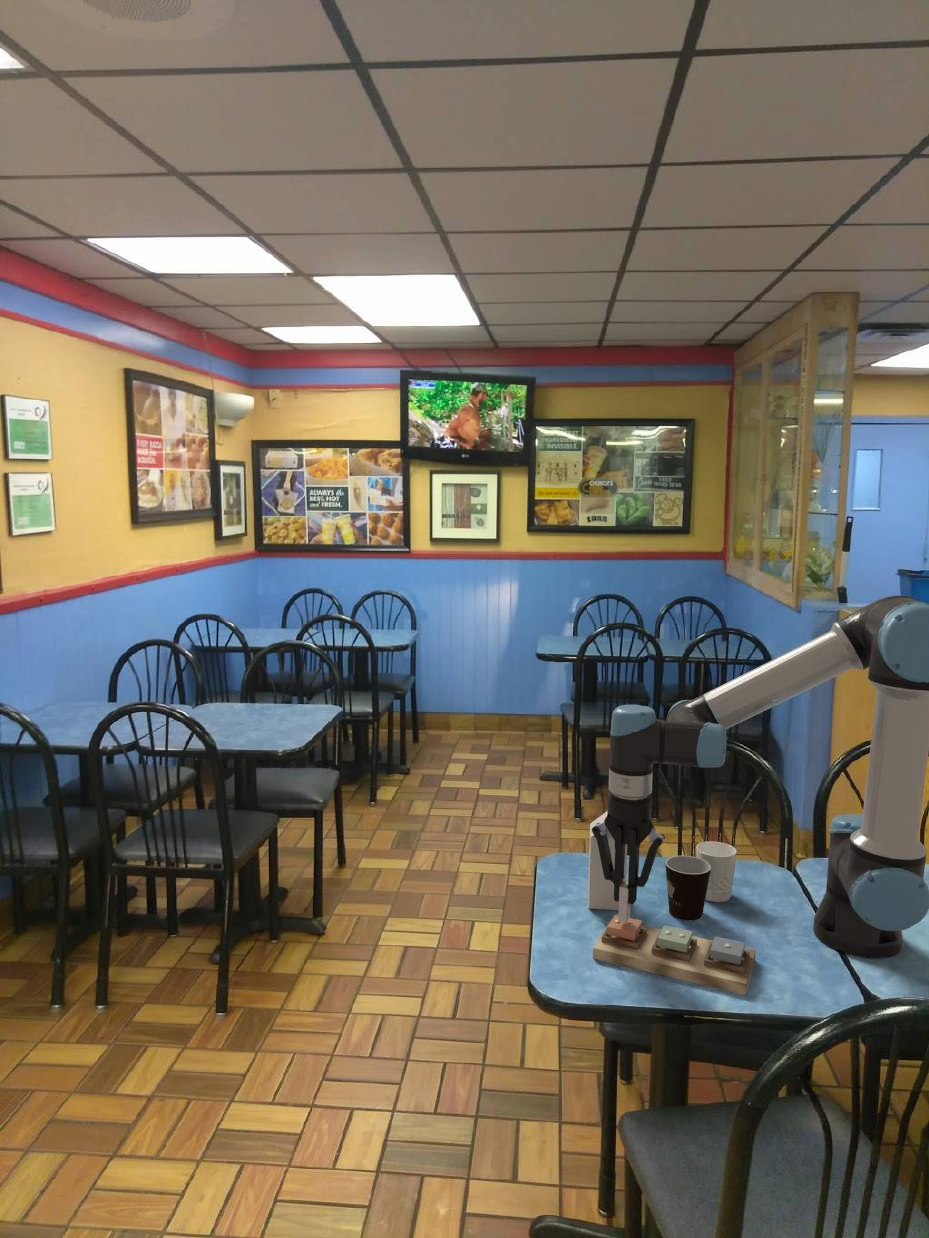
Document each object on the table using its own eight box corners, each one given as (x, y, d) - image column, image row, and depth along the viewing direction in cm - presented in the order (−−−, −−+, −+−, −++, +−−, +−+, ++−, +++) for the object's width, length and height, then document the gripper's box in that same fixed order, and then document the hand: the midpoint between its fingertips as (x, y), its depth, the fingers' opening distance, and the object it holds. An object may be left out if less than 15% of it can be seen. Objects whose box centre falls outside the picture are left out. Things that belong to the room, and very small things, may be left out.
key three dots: (641, 928, 160) (642, 919, 160) (634, 940, 156) (635, 931, 155) (614, 922, 162) (615, 913, 162) (607, 934, 158) (607, 925, 157)
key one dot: (744, 950, 152) (745, 941, 152) (740, 964, 148) (740, 955, 148) (714, 944, 155) (715, 935, 154) (709, 957, 150) (710, 948, 150)
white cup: (706, 905, 176) (708, 858, 174) (687, 888, 183) (689, 842, 182) (741, 901, 178) (744, 854, 176) (721, 884, 185) (723, 839, 184)
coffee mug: (709, 925, 168) (712, 876, 166) (663, 920, 169) (665, 871, 168) (705, 898, 179) (708, 851, 178) (662, 894, 181) (664, 847, 179)
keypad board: (755, 960, 155) (756, 944, 155) (745, 995, 145) (746, 978, 144) (611, 928, 166) (612, 913, 166) (592, 958, 156) (593, 942, 155)
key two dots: (691, 939, 156) (692, 930, 156) (686, 952, 152) (686, 943, 151) (663, 933, 158) (664, 924, 158) (657, 945, 154) (657, 936, 154)
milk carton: (588, 909, 174) (591, 817, 171) (587, 893, 181) (590, 804, 178) (625, 911, 173) (628, 819, 170) (622, 895, 180) (626, 806, 177)
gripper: (587, 793, 154) (583, 919, 158) (661, 805, 149) (655, 936, 152) (600, 781, 161) (595, 902, 165) (671, 792, 156) (664, 917, 159)
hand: (624, 918), depth 159 cm, fingers closed
